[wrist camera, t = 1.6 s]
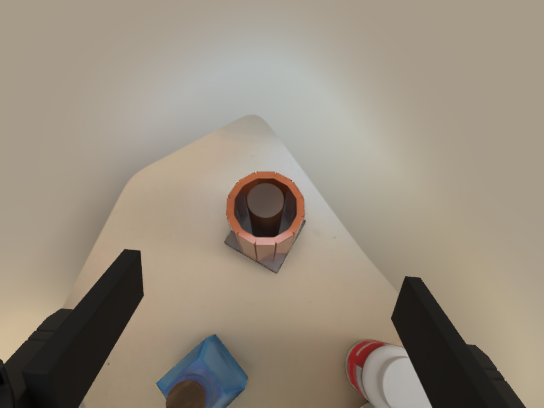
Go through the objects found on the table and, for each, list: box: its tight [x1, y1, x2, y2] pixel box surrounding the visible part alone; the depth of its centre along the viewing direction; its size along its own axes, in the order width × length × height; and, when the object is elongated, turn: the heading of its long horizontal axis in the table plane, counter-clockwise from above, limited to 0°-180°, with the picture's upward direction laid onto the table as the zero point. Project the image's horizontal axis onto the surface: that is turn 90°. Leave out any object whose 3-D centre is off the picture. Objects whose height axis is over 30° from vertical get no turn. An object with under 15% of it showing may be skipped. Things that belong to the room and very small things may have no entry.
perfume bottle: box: [156, 335, 248, 408], centre depth 31 cm, size 6×6×12 cm
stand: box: [224, 183, 306, 274], centre depth 36 cm, size 8×8×13 cm
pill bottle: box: [345, 340, 432, 408], centre depth 32 cm, size 6×6×11 cm
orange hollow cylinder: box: [226, 172, 305, 261], centre depth 37 cm, size 8×8×10 cm
